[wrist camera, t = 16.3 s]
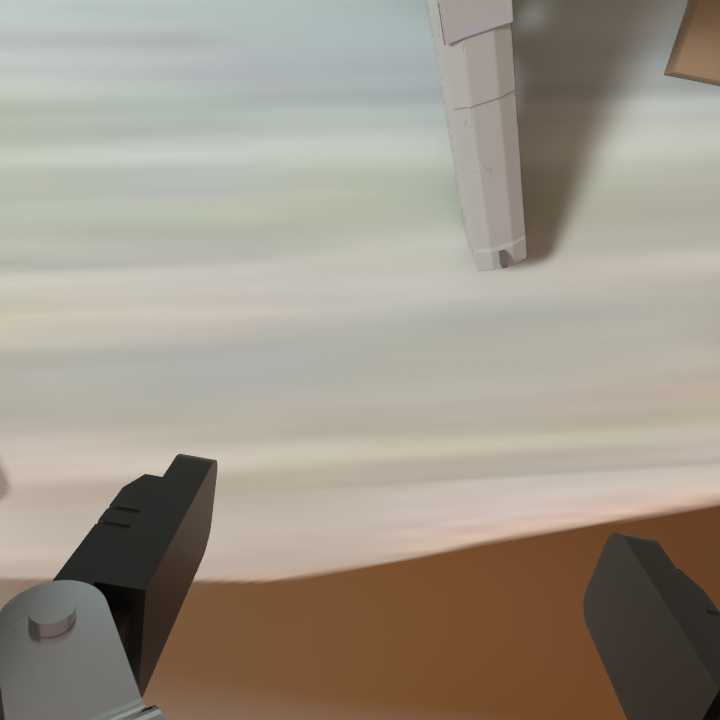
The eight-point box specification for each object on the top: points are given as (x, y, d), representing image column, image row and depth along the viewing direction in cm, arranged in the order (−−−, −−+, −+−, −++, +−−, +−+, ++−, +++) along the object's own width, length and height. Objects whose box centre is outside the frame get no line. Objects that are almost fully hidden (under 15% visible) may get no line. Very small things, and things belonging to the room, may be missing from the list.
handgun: (418, -345, 28) (501, -371, 18) (481, 152, 49) (535, 265, 39) (340, -311, 28) (380, -318, 19) (435, 167, 49) (477, 282, 39)
